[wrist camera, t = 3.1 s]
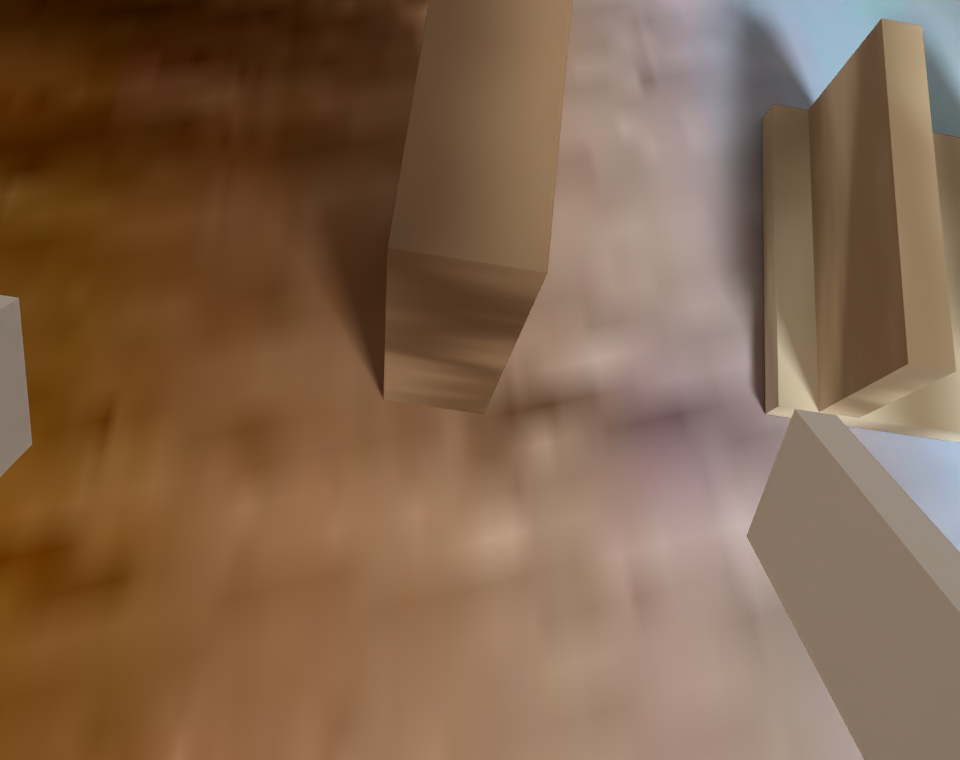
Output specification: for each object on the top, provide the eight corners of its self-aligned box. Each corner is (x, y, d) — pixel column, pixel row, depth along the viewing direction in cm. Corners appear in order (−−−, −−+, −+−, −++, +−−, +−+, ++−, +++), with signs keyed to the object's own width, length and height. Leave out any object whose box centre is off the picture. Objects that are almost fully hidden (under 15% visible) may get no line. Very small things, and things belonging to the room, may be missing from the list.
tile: (508, 193, 31) (576, -41, 20) (483, 414, 28) (547, 273, 17) (419, 177, 30) (440, -67, 20) (383, 399, 27) (387, 247, 17)
